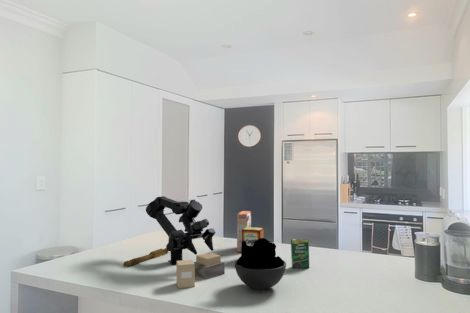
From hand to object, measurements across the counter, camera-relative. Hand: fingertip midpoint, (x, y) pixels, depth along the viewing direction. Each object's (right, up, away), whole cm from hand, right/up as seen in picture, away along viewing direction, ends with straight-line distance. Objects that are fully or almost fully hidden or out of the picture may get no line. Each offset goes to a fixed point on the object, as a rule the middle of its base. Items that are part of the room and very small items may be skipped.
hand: (204, 252), depth 157 cm
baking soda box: (+23, -9, +20) cm, 32 cm away
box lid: (+2, -4, -2) cm, 5 cm away
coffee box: (+44, -9, +7) cm, 45 cm away
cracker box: (+19, -10, +41) cm, 46 cm away
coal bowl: (+23, -9, -20) cm, 32 cm away
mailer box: (-6, -9, -16) cm, 19 cm away
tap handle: (-31, -10, +22) cm, 39 cm away
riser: (+2, -9, -2) cm, 9 cm away
